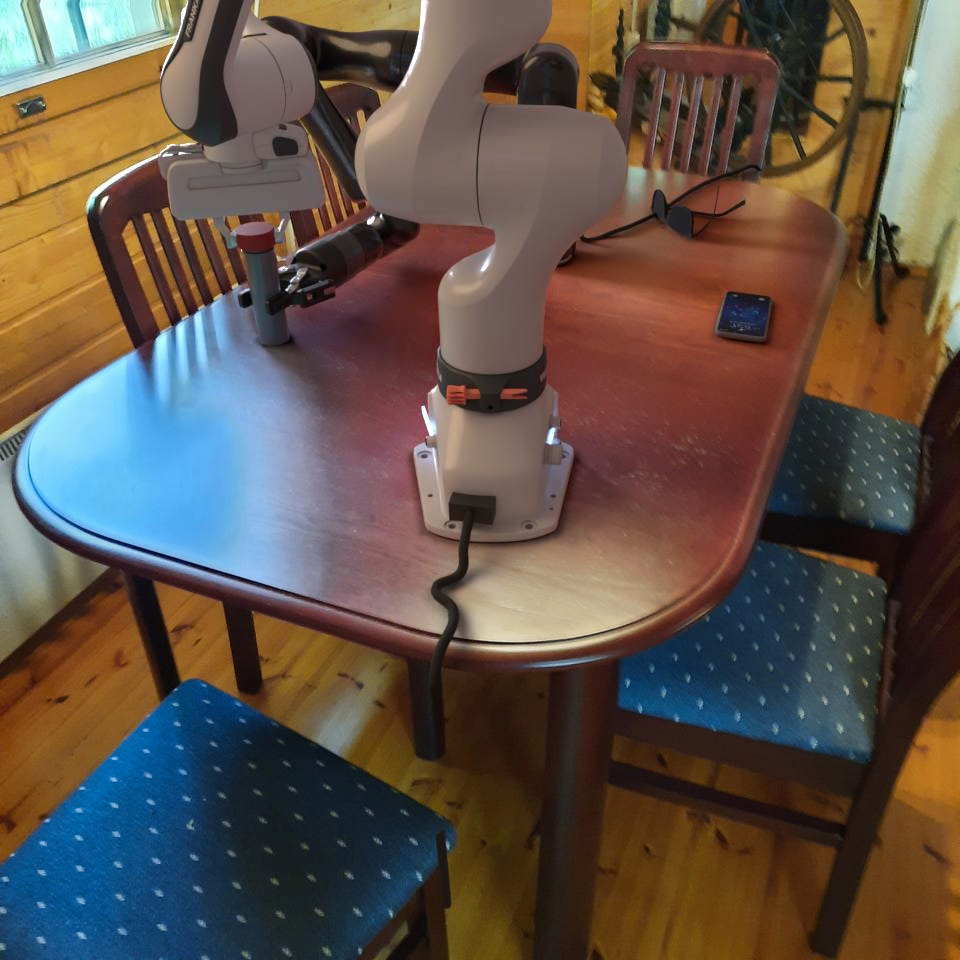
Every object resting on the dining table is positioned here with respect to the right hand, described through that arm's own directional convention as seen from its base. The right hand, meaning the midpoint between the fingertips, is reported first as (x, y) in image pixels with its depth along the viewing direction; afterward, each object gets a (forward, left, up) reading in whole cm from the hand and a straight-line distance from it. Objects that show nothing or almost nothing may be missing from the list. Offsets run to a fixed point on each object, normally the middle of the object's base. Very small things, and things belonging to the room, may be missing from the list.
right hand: (254, 305), depth 121 cm
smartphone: (-62, +36, -6) cm, 72 cm away
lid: (-2, -1, +10) cm, 10 cm away
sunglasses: (-86, +3, -6) cm, 87 cm away
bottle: (-2, -1, -6) cm, 7 cm away
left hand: (-2, -1, +8) cm, 8 cm away
